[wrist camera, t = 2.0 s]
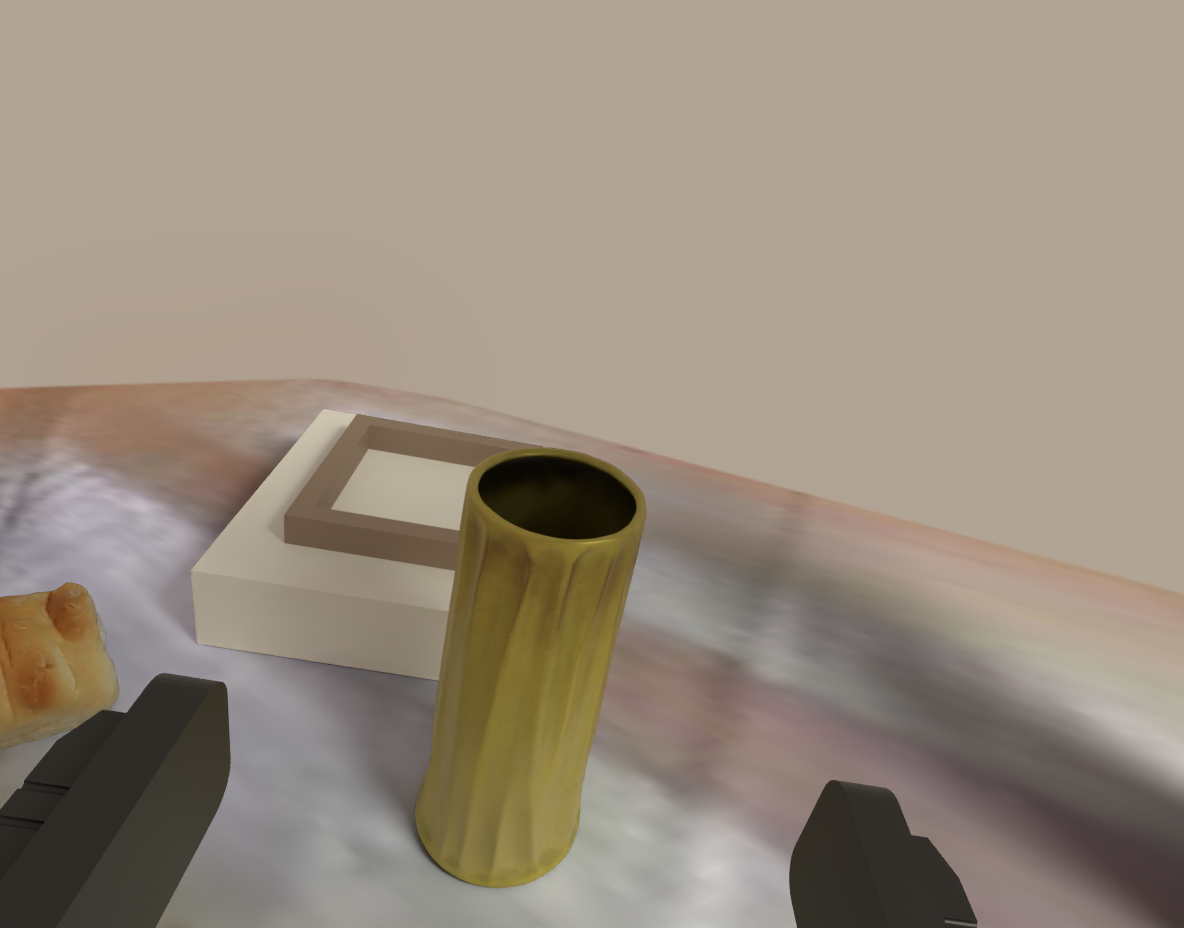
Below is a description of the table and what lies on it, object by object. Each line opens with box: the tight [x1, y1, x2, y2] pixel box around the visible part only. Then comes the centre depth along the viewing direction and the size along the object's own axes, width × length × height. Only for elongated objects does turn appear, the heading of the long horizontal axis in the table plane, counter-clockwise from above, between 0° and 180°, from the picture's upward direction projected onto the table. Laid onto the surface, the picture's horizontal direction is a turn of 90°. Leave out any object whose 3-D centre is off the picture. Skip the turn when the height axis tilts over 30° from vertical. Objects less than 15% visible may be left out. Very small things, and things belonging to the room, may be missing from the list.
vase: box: [415, 447, 646, 888], centre depth 25 cm, size 6×6×14 cm
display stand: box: [190, 409, 543, 681], centre depth 39 cm, size 16×16×6 cm
